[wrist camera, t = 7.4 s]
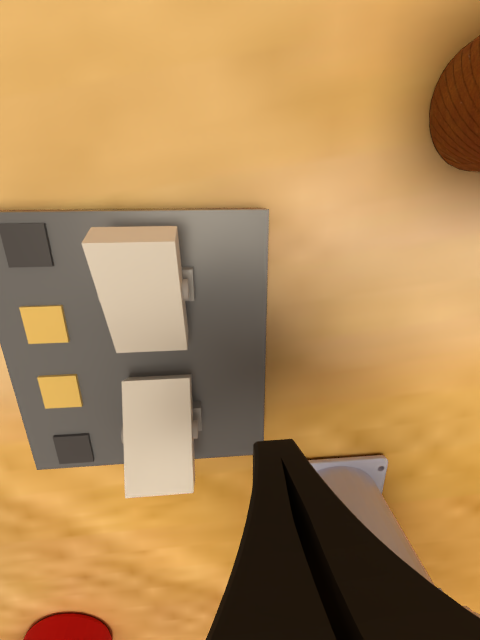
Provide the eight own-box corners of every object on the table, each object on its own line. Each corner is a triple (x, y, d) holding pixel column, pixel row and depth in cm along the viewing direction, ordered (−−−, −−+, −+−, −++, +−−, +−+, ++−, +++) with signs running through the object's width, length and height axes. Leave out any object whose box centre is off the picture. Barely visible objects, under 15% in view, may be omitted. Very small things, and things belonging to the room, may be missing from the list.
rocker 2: (199, 479, 19) (198, 492, 17) (127, 484, 18) (120, 498, 17) (195, 373, 19) (194, 377, 17) (124, 377, 18) (116, 381, 17)
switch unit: (257, 428, 23) (264, 462, 20) (55, 441, 22) (31, 478, 19) (261, 207, 18) (271, 209, 15) (-5, 210, 17) (-50, 213, 14)
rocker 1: (193, 329, 18) (192, 349, 17) (117, 332, 17) (111, 353, 16) (183, 224, 14) (181, 241, 13) (85, 226, 13) (74, 243, 12)
